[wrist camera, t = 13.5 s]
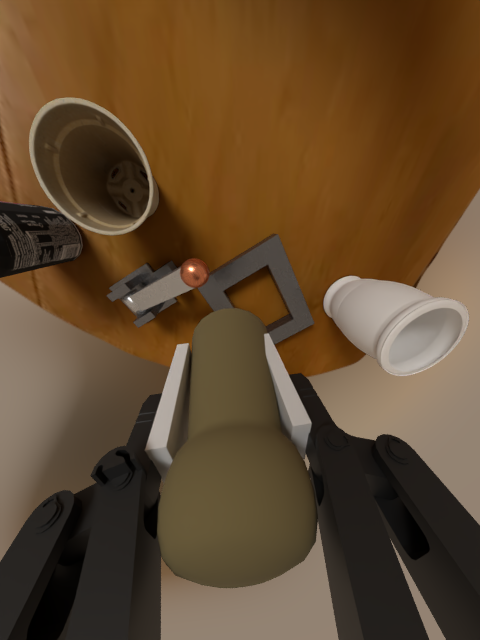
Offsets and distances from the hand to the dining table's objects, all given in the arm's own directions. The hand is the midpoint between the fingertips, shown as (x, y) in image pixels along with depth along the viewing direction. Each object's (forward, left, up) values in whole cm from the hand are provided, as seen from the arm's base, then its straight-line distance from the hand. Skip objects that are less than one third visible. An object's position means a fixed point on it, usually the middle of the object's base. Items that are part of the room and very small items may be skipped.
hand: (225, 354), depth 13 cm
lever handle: (-5, -11, -15) cm, 19 cm away
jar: (+15, +18, -19) cm, 30 cm away
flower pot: (-16, -3, -19) cm, 25 cm away
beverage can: (-17, -15, -19) cm, 30 cm away
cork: (0, 0, -2) cm, 2 cm away
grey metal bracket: (-5, -11, -19) cm, 23 cm away
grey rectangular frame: (+6, +4, -19) cm, 21 cm away
